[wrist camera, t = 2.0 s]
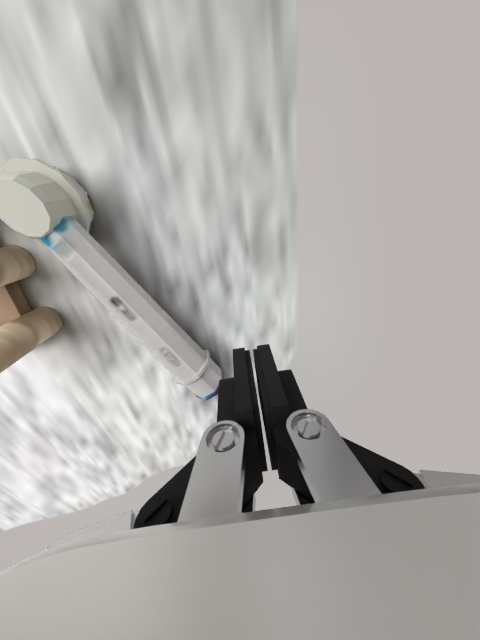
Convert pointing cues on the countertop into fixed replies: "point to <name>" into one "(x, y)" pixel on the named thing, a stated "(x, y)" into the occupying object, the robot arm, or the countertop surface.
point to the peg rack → (20, 309)
